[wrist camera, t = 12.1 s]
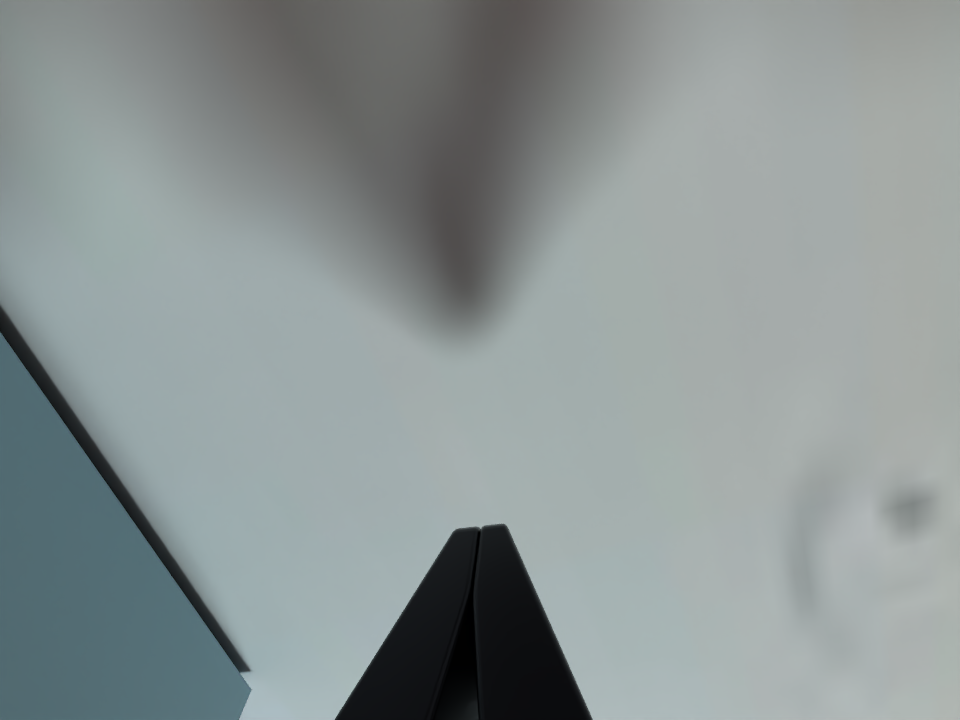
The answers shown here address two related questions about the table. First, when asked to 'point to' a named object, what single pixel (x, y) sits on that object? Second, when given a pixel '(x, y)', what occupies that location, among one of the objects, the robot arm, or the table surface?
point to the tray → (89, 589)
